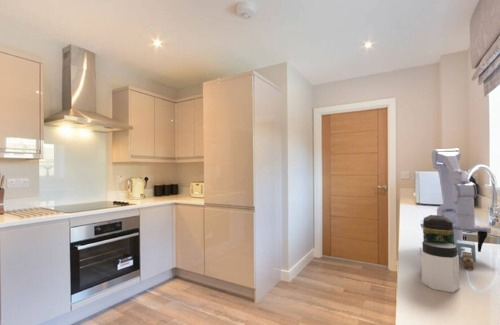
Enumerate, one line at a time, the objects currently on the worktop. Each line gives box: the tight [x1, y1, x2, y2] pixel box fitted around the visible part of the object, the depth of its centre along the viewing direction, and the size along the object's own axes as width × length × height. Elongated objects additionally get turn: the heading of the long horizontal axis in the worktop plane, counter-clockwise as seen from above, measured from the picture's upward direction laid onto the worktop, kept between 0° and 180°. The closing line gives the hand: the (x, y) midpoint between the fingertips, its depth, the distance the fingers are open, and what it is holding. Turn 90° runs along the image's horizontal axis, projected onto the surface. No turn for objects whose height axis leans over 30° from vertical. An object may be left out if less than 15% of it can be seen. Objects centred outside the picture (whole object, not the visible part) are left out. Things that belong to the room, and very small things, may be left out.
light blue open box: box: [457, 240, 476, 261], centre depth 100 cm, size 5×5×6 cm
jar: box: [420, 240, 461, 294], centre depth 75 cm, size 9×8×12 cm
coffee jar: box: [422, 214, 453, 244], centre depth 84 cm, size 10×8×19 cm
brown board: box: [461, 251, 475, 270], centre depth 92 cm, size 12×2×3 cm, turn 143°
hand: (466, 249), depth 100 cm, fingers open, 7 cm apart
